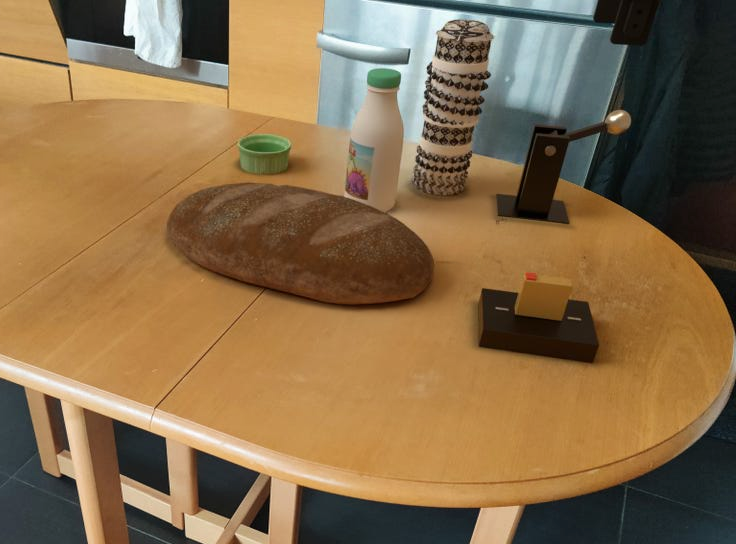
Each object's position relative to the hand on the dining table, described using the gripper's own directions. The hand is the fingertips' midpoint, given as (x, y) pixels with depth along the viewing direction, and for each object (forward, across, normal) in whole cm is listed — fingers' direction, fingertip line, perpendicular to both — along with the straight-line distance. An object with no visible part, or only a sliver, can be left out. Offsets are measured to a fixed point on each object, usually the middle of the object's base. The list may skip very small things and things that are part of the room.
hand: (617, 32), depth 72 cm
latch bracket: (+30, +23, -1) cm, 38 cm away
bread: (+31, +1, +32) cm, 44 cm away
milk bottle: (+31, +20, +23) cm, 43 cm away
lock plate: (+30, -11, +2) cm, 32 cm away
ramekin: (+31, +31, +42) cm, 61 cm away
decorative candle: (+31, +28, +13) cm, 44 cm away
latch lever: (+19, +23, -6) cm, 30 cm away
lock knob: (+27, -11, +2) cm, 30 cm away
